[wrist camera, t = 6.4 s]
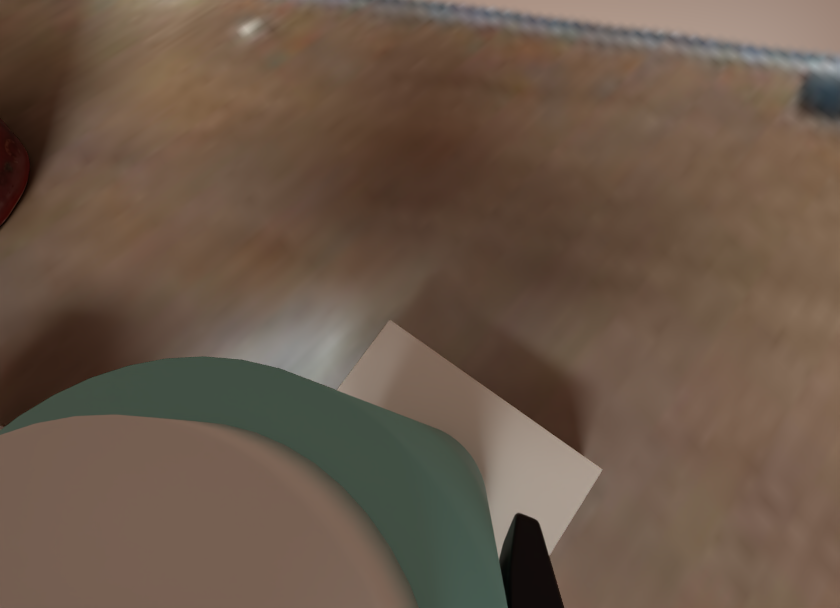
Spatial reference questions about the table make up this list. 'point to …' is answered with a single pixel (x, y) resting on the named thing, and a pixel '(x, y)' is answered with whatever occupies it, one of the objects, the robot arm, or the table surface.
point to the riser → (477, 432)
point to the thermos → (237, 498)
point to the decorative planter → (11, 171)
